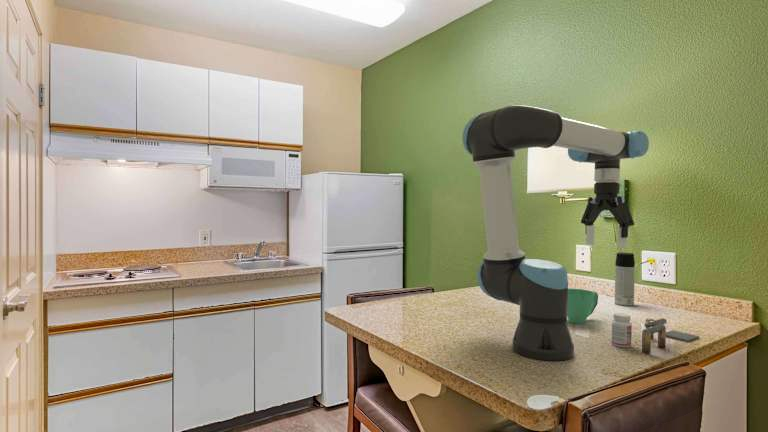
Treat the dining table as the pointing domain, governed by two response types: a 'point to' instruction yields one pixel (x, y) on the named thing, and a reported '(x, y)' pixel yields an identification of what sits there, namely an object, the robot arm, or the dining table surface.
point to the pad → (681, 336)
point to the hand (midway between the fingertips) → (605, 246)
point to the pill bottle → (621, 330)
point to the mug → (580, 304)
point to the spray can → (624, 279)
